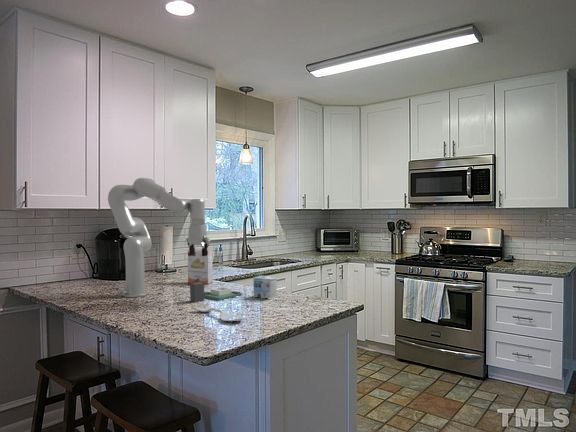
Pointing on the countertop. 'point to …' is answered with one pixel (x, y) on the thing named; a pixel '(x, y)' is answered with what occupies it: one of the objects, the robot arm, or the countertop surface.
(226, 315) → the spoon
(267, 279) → the light bulb box
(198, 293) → the plug
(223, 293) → the board
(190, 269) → the cracker box
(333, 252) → the countertop surface
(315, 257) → the countertop surface
